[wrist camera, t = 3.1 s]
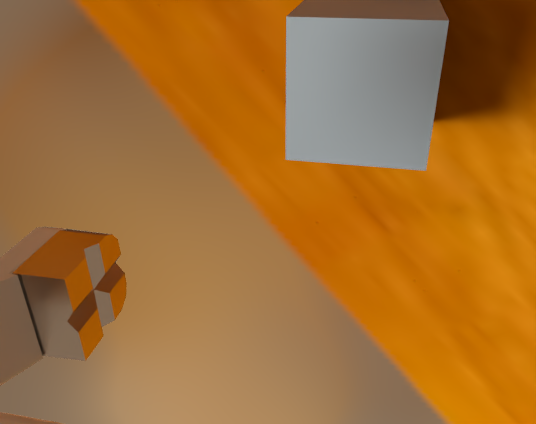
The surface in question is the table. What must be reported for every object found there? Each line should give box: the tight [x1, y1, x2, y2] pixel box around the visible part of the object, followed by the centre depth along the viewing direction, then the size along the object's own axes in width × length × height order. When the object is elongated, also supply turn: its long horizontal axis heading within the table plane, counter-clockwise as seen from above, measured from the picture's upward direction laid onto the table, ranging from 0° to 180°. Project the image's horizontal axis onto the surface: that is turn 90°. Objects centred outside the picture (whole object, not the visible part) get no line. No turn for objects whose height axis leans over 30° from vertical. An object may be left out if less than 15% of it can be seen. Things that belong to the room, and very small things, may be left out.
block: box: [286, 0, 449, 171], centre depth 19 cm, size 5×5×5 cm
